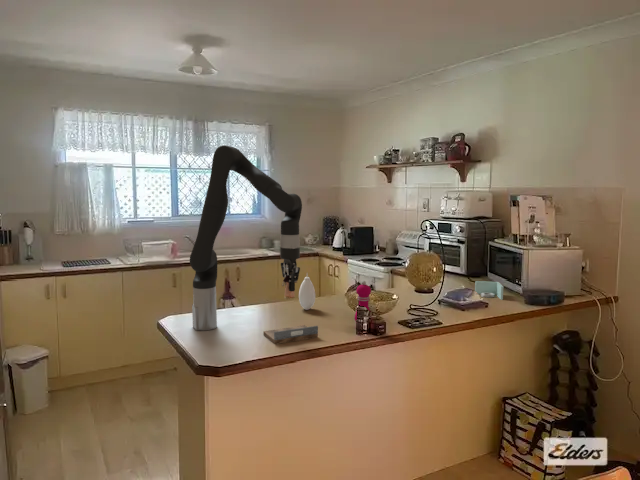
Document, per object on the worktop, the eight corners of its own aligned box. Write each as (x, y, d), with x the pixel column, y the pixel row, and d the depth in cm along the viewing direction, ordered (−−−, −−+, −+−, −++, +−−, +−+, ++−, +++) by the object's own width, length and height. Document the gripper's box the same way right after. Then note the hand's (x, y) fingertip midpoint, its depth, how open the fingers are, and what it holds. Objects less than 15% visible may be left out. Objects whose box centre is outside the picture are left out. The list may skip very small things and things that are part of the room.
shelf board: (274, 344, 181) (274, 340, 181) (263, 334, 191) (263, 331, 191) (317, 337, 189) (317, 333, 189) (304, 328, 200) (304, 325, 199)
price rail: (274, 340, 181) (274, 332, 180) (274, 339, 181) (274, 331, 181) (318, 333, 189) (318, 326, 188) (317, 333, 189) (317, 325, 189)
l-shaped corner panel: (474, 294, 264) (475, 281, 263) (497, 295, 262) (498, 281, 261) (478, 299, 252) (479, 285, 251) (502, 300, 250) (503, 286, 249)
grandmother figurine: (288, 300, 184) (288, 267, 182) (280, 299, 186) (280, 266, 185) (299, 296, 191) (300, 264, 189) (291, 295, 193) (292, 263, 191)
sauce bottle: (315, 311, 226) (315, 273, 224) (298, 311, 226) (298, 273, 224) (315, 307, 234) (315, 270, 231) (299, 307, 234) (299, 270, 232)
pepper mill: (353, 325, 204) (353, 279, 202) (370, 325, 205) (370, 278, 202) (355, 331, 197) (356, 282, 194) (373, 330, 197) (374, 282, 195)
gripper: (274, 244, 190) (274, 287, 193) (288, 248, 178) (288, 295, 180) (291, 243, 194) (291, 285, 196) (306, 247, 181) (306, 293, 184)
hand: (290, 290), depth 188 cm, fingers closed on grandmother figurine, 3 cm apart
